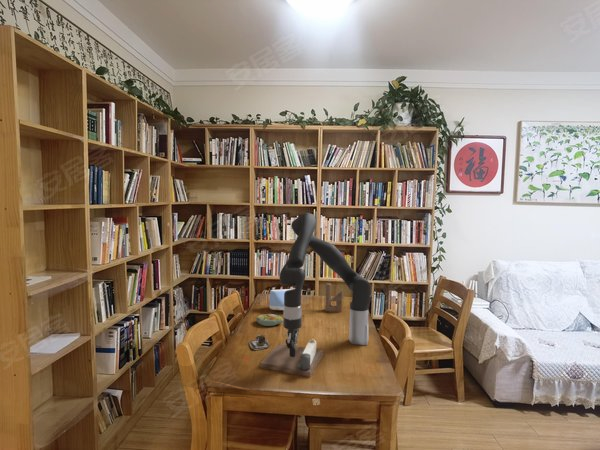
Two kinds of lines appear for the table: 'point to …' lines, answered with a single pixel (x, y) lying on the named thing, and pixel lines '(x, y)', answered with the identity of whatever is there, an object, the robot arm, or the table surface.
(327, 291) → the brown notched block
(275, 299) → the retro all-in-one computer
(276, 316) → the cell model
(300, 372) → the board
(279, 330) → the table surface
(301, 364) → the white rectangular block
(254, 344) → the dark grey gadget
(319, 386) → the table surface
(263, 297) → the table surface
